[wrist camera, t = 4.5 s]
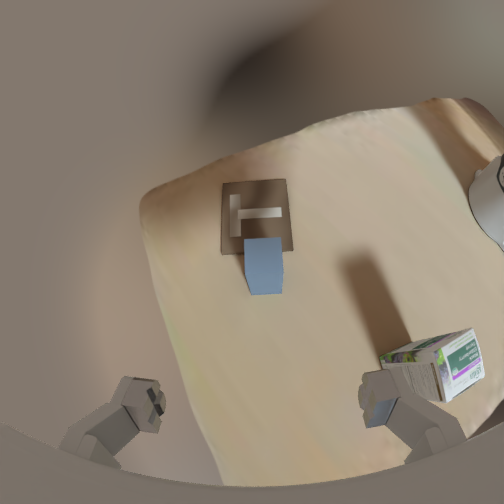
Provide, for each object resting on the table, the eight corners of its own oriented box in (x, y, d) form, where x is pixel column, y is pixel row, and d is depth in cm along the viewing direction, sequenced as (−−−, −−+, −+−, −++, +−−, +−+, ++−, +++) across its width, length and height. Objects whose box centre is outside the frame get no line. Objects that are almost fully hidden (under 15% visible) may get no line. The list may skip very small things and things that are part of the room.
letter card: (285, 181, 45) (285, 178, 44) (293, 250, 40) (293, 248, 39) (223, 185, 45) (222, 183, 45) (222, 254, 41) (221, 253, 40)
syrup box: (412, 340, 34) (473, 322, 20) (423, 378, 31) (487, 375, 18) (378, 357, 33) (432, 348, 20) (389, 395, 31) (447, 405, 18)
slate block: (279, 265, 39) (280, 237, 31) (281, 293, 38) (283, 272, 30) (250, 266, 40) (244, 239, 31) (251, 295, 38) (244, 274, 30)
